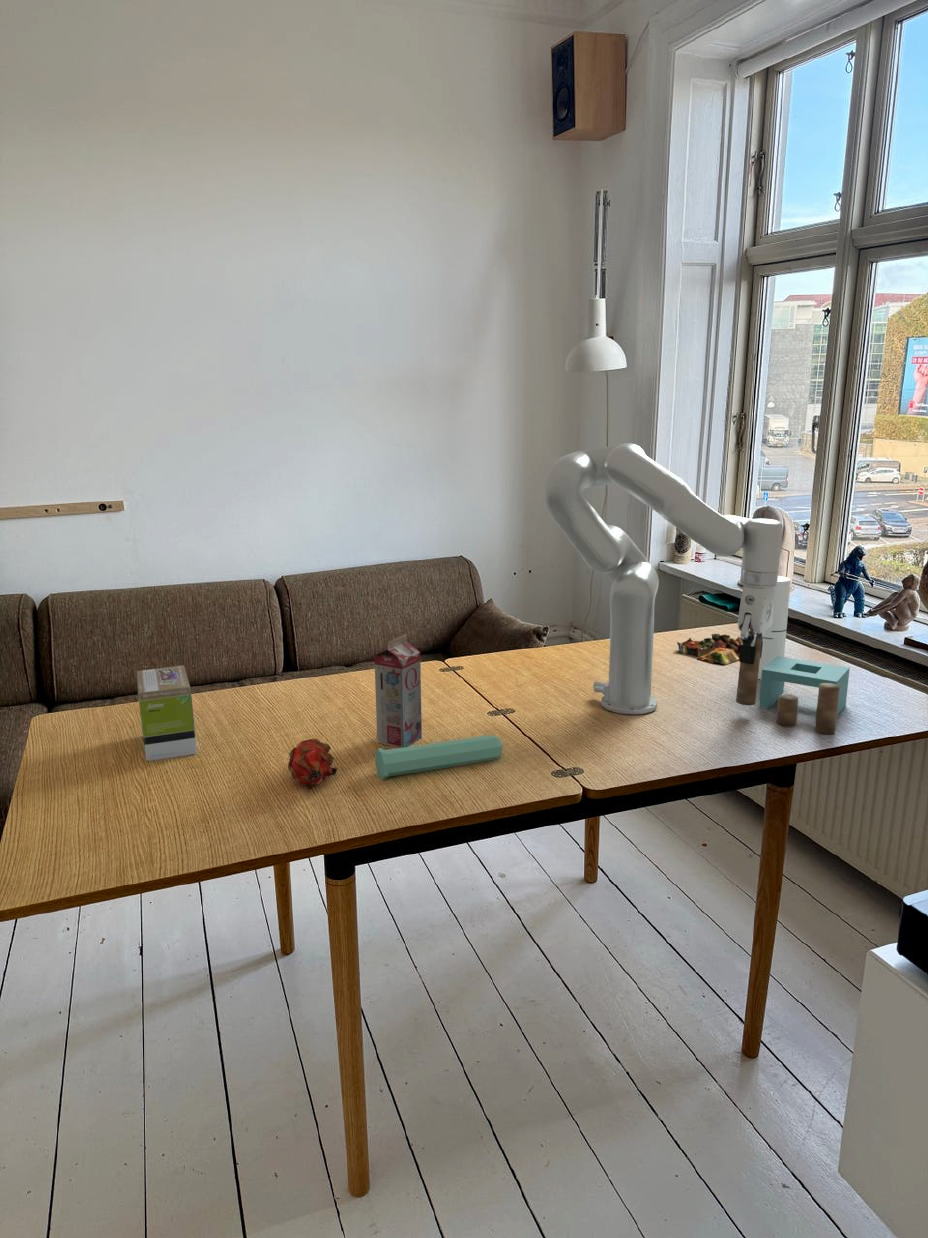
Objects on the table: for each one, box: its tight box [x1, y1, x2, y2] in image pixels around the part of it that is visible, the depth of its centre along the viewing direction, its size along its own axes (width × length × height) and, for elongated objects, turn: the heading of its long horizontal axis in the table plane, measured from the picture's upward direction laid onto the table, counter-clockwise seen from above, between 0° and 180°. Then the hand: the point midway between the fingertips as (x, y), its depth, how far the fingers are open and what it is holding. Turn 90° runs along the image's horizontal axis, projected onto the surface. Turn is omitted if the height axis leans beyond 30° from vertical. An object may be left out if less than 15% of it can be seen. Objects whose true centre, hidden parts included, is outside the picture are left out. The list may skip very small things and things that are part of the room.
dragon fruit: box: [287, 738, 338, 790], centre depth 172 cm, size 8×8×12 cm
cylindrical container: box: [758, 575, 792, 679], centre depth 228 cm, size 7×7×25 cm
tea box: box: [136, 664, 198, 762], centre depth 189 cm, size 15×10×15 cm
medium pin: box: [814, 683, 840, 735], centre depth 194 cm, size 4×4×10 cm
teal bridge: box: [758, 656, 851, 717], centre depth 209 cm, size 16×12×9 cm
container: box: [374, 734, 503, 780], centre depth 179 cm, size 6×6×25 cm
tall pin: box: [735, 634, 762, 707], centre depth 202 cm, size 4×4×15 cm
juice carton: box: [373, 633, 423, 748], centre depth 189 cm, size 7×7×22 cm
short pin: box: [775, 693, 799, 728], centre depth 199 cm, size 4×4×6 cm
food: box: [676, 633, 741, 666], centre depth 252 cm, size 22×19×4 cm
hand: (750, 659), depth 201 cm, fingers closed on tall pin, 4 cm apart
